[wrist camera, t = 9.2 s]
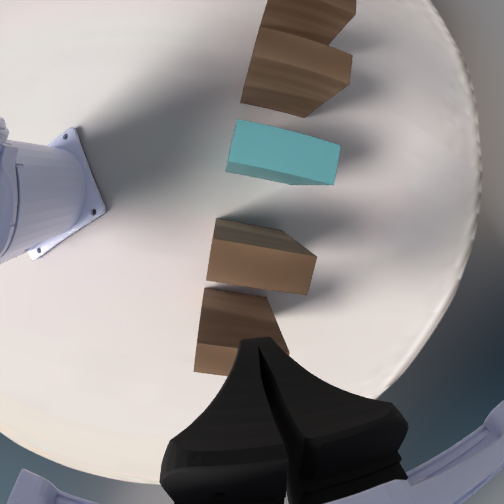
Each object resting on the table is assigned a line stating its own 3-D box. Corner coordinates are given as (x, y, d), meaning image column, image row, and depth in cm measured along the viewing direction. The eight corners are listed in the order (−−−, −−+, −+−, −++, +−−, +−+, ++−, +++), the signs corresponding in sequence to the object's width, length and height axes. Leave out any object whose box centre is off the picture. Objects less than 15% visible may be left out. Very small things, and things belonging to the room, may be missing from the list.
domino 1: (313, 61, 18) (355, 14, 10) (254, 46, 17) (271, -13, 9) (316, 44, 17) (356, -4, 9) (259, 29, 16) (277, -30, 9)
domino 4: (275, 255, 21) (306, 295, 13) (211, 244, 20) (206, 280, 13) (281, 230, 21) (317, 256, 13) (216, 218, 20) (213, 238, 12)
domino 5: (261, 318, 22) (280, 379, 14) (201, 310, 21) (193, 371, 14) (266, 297, 22) (289, 352, 14) (204, 287, 21) (197, 342, 13)
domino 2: (304, 117, 19) (349, 84, 11) (240, 102, 18) (252, 55, 10) (308, 95, 18) (352, 55, 11) (245, 80, 18) (260, 26, 10)
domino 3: (291, 184, 20) (333, 185, 12) (225, 171, 19) (228, 161, 11) (296, 159, 19) (340, 145, 12) (230, 145, 19) (237, 119, 11)
